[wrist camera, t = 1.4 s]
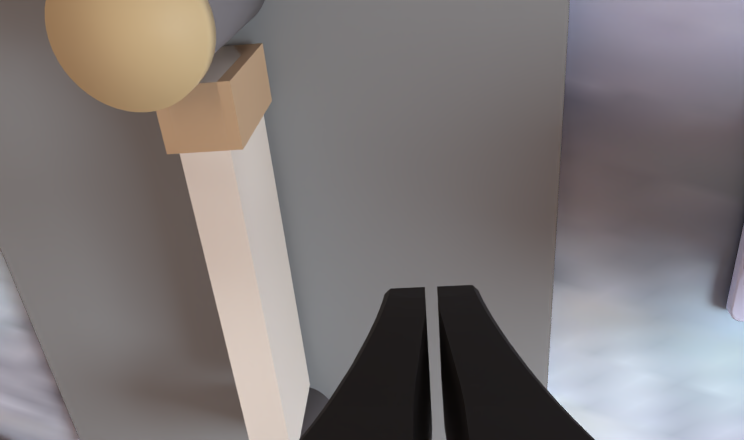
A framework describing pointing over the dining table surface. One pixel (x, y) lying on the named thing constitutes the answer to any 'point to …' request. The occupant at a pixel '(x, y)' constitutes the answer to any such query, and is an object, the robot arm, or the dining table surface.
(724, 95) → the dining table surface
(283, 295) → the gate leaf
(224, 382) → the gate frame
